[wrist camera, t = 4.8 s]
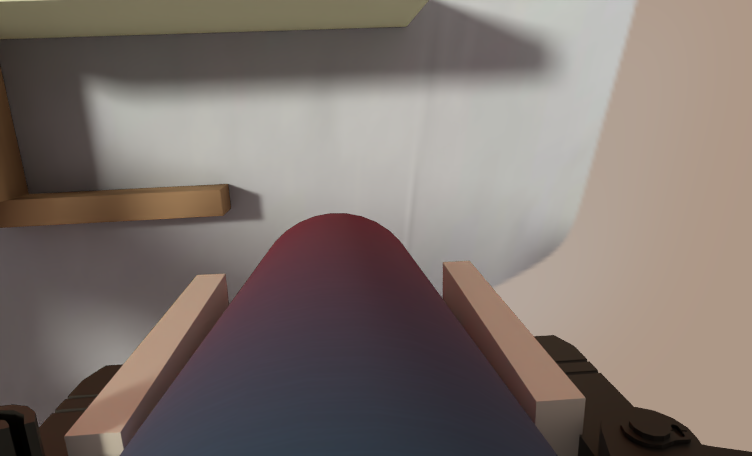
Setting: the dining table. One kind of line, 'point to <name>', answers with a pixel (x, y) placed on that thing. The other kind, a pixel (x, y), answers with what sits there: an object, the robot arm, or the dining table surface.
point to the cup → (338, 363)
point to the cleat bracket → (92, 194)
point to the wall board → (195, 16)
